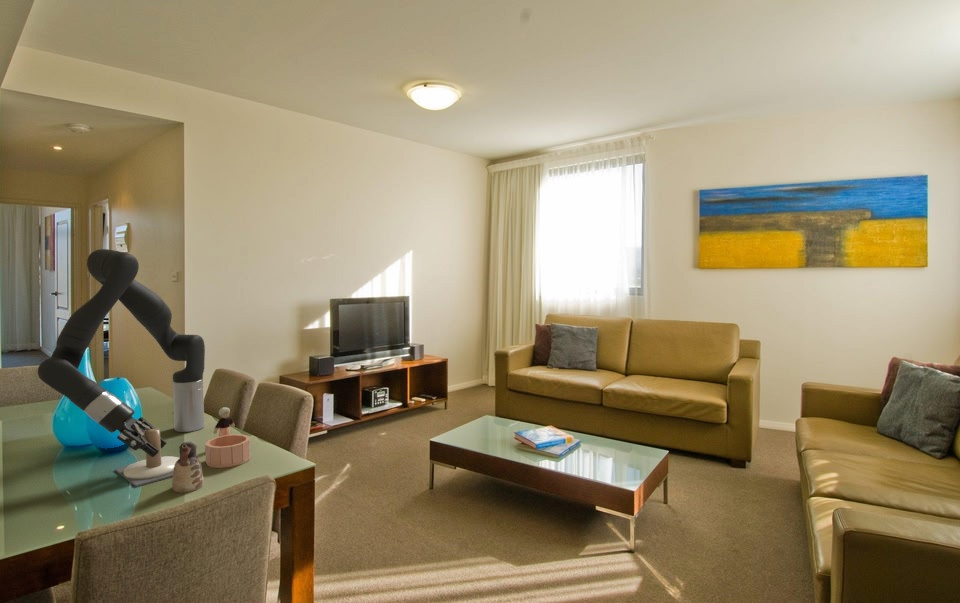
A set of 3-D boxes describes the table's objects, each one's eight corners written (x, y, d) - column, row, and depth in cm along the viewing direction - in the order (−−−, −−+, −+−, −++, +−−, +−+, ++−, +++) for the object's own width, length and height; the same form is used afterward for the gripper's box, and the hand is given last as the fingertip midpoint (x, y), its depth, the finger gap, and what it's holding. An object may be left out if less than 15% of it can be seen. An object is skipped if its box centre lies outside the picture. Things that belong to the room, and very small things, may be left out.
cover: (116, 470, 145) (115, 431, 144) (172, 456, 156) (170, 419, 155) (133, 483, 136) (131, 442, 135) (190, 468, 147) (189, 429, 146)
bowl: (199, 461, 153) (198, 441, 153) (238, 450, 162) (238, 431, 162) (217, 471, 146) (216, 450, 145) (257, 459, 155) (256, 440, 154)
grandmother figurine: (222, 450, 162) (221, 410, 161) (211, 450, 163) (210, 410, 162) (238, 442, 169) (237, 404, 169) (228, 441, 170) (227, 403, 169)
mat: (115, 470, 146) (114, 468, 146) (169, 456, 157) (169, 455, 157) (135, 487, 135) (135, 485, 135) (193, 471, 146) (193, 469, 146)
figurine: (208, 480, 139) (206, 437, 139) (197, 492, 132) (195, 446, 132) (180, 482, 139) (178, 437, 138) (167, 493, 132) (165, 447, 131)
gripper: (109, 408, 136) (162, 448, 140) (130, 395, 149) (177, 432, 153) (86, 429, 134) (141, 469, 139) (109, 414, 148) (158, 451, 152)
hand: (160, 449), depth 146 cm, fingers open, 6 cm apart
